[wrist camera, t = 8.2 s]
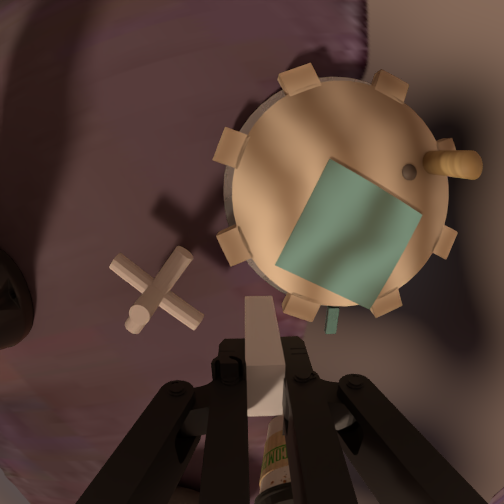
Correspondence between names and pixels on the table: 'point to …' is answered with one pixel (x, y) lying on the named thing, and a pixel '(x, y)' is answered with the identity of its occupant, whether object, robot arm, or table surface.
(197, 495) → the bowl
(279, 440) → the coffee cup
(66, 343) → the table surface
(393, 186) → the sprocket
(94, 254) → the table surface
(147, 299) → the light wooden cross
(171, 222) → the table surface
